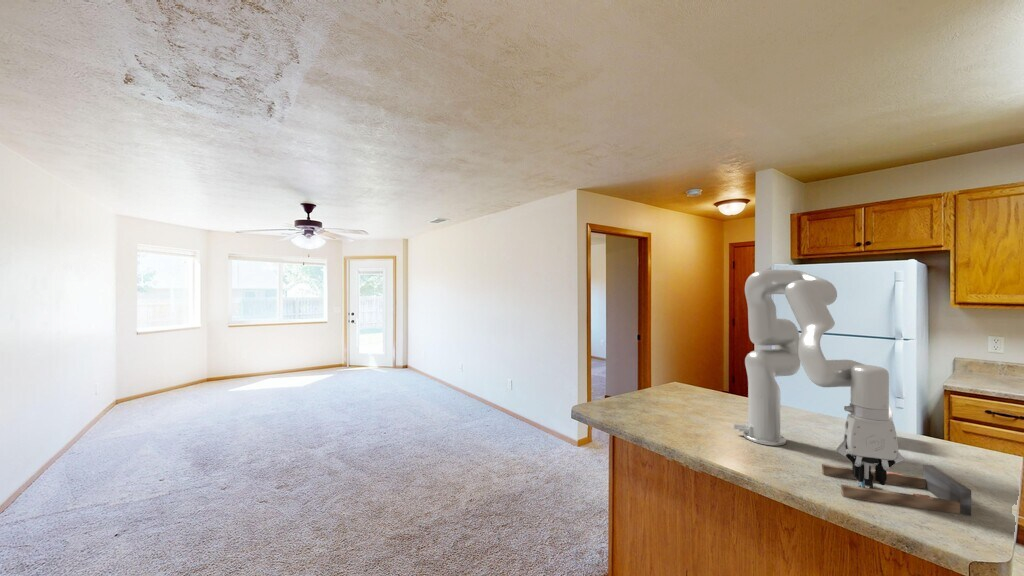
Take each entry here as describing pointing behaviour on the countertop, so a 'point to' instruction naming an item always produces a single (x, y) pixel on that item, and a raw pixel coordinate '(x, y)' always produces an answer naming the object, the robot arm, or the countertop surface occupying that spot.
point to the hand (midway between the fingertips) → (869, 480)
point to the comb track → (934, 480)
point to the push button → (867, 472)
